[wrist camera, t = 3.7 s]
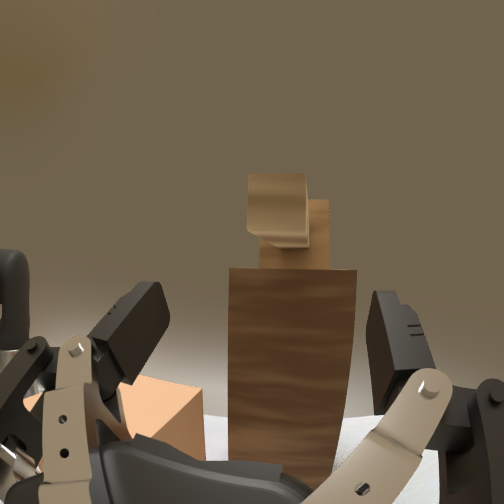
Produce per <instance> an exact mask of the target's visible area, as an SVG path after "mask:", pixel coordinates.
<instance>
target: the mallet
mask: <svg viewBox="0 0 504 504" xmlns="http://www.w3.org/2000/svg"><path fill="white" fill-rule="evenodd" d="M247 230H248V231H249V232H251V233H253V234H255V235H256V236H258V237H260V245H259V248H260V249H259V268H267V269H317V270H329V200H308V198H307V187H306V176H305V173H279V174H251V175H249V178H248V214H247Z"/></svg>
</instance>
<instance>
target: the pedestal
mask: <svg viewBox="0 0 504 504" xmlns="http://www.w3.org/2000/svg"><path fill="white" fill-rule="evenodd" d="M118 388H119V389H120V392H121V398H122V404H123V409H124V414H125V419H126V424H127V428H128V431H129V433H130V435H131V437H132V439H133V438H134V436H135V434H136V433H138V434H141V435H144V436H147V437H150V438H153V439H156V440H159V441H162V442H165V443H168V444H169V445H171V446H173V447H175V448H176V449H178V450H180V451H182V452H184V453H185V454H187V455H189V456H191V457H193V458H195V459H197V460H200V461H206V453H205V438H204V419H203V396H202V388H197V387H192V386H186V385H181V384H177V383H172V382H167V381H163V380H158V379H154V378H150V377H146V376H142V375H138V377H137V378H136V380H135V382H134V383H133V385H132V386H131V385H128V384H125V383H122V382H120V384H119V386H118ZM42 393H43V392H41V393H39V394H36V395H33V396H31V397H28V398H25V399H23V403H24V406H25V408H26V409H27V410H28V411H29V412H30V411H31V409H32V408H33V406H34V405H35V403H36V402H37V400H38V399H39V397H40V396H41V394H42ZM38 466H39V468H40V470H41V472H44V470H43V456H42V458H41V460H40V462H39V464H38Z"/></svg>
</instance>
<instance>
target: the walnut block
mask: <svg viewBox="0 0 504 504" xmlns="http://www.w3.org/2000/svg"><path fill="white" fill-rule="evenodd" d="M356 282H357V270H341V269H340V270H339V269H338V270H335V269H329V270H317V269H267V268H229V307H228V312H229V313H228V461H232V460H245V461H252V462H260V463H268V464H278V465H282V473H285V474H288V475H291V476H293V477H295V478H298V479H300V480H302V481H303V482H305V483H307V484H308V485H310V486H311V487H312V488H314V489H315V490H316V489H317V488H318V487H319V486H320V485H321V484H322V483H323V482H324V481H325V480H327V479H328V478H329V477H330V476H331V472H332V468H333V463H334V459H335V455H336V450H337V445H338V441H339V436H340V430H341V425H342V420H343V414H344V408H345V402H346V395H347V387H348V380H349V373H350V363H351V354H352V346H353V334H354V321H355V304H356Z"/></svg>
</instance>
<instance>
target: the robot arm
mask: <svg viewBox="0 0 504 504" xmlns="http://www.w3.org/2000/svg"><path fill="white" fill-rule="evenodd" d="M29 283H30V279H29V266H28V262H27V259H26V257H25V255H24V254H23V253H22V252H21V251H19V250H10V249H0V304H2V318H1V319H0V499H1V500H2V501H3V502H4V504H392V503H393V501H394V500H395V499H396V498H397V496H398V495H399V494H400V492H401V491H402V489H403V488H404V487H405V485H406V484H407V482H408V481H409V480H410V478H411V477H412V475H413V474H414V472H415V471H416V469H417V467H418V466H419V464H420V462H421V460H422V456H421V455H422V453H423V451H424V449H429V450H436V451H438V458H439V483H440V499H439V504H504V382H502V381H500V380H498V379H487V380H485V381H483V382H482V383H481V384H480V385H479V387H478V388H477V389H469V388H462V387H457V386H453V385H452V383H451V382H450V380H449V378H448V377H447V376H446V375H445V374H444V373H442V372H441V371H439V370H436V367H435V364H434V361H433V358H432V355H431V352H430V349H429V346H428V343H427V340H426V338H425V336H424V332H423V329H422V327H421V324H420V321H419V319H418V316H417V314H416V313H415V312H414V311H413V309H412V308H411V307H410V306H409V305H400V303H399V300H398V297H397V295H396V292H395V291H374V292H373V295H372V300H371V306H370V311H369V316H368V321H367V326H366V344H367V350H368V358H369V366H370V374H371V384H372V394H373V404H374V415H384V417H383V418H382V419H381V421H380V422H379V423H378V425H377V426H376V427H375V428H374V429H372V430H371V431H370V432H369V433H368V434H367V436H366V437H365V438H364V439H363V440H362V442H361V443H360V444H359V445H358V446H357V447H356V449H355V450H354V451H353V452H352V453H351V454H350V455H349V456H348V458H347V459H346V460H345V461H344V462H343V463H342V464H341V465H340V466H339V467H338V468H337V469H336V470H335V471H334V472H333V473H332V475H331V476H330V477H329V478H328V479H327V480H325V481H324V482H323V483H322V484H321V485H320V486H319V487H318V488H317V489H316V490H315V489H314V488H312V487H311V486H310V485H308V484H307V483H305V482H303V481H302V480H300V479H298V478H295V477H293V476H291V475H288V474H285V473H282V465H278V464H268V463H260V462H252V461H245V460H232V461H200V460H197V459H195V458H193V457H191V456H189V455H187V454H185V453H184V452H182V451H180V450H178V449H176V448H175V447H173V446H171V445H169V444H168V443H165V442H162V441H159V440H156V439H153V438H150V437H147V436H144V435H141V434H138V433H136V434H135V436H134V438H133V439H132V437H131V435H130V433H129V431H128V428H127V424H126V419H125V414H124V409H123V404H122V398H121V392H120V389H119V388H118V386H119V384H120V382H122V383H125V384H128V385H131V386H132V385H133V383H134V382H135V380H136V378H137V377H138V375H139V373H140V372H141V370H142V368H143V367H144V365H145V363H146V362H147V360H148V358H149V356H150V355H151V353H152V352H153V350H154V349H155V347H156V345H157V344H158V342H159V341H160V339H161V337H162V336H163V334H164V333H165V331H166V329H167V328H168V326H169V322H170V313H169V309H168V306H167V303H166V299H165V296H164V293H163V290H162V286H161V284H160V283H159V282H154V281H140V282H139V283H138V284H137V285H136V286H135V287H134V288H133V289H132V291H131V292H129V293H127V294H126V295H124V296H123V297H121V298H120V299H119V300H118V301H117V302H116V303H115V304H114V305H113V308H111V309H110V310H109V311H108V313H107V314H106V315H105V316H104V317H103V318H102V319H101V320H100V321H99V323H98V324H97V325H96V326H95V327H94V328H93V330H92V331H91V332H90V333H89V334H88V335H87V337H86V336H76V337H72V338H70V339H69V340H67V341H66V342H65V343H64V344H63V345H62V346H61V347H50V346H49V344H48V343H47V341H46V339H45V338H44V337H41V336H38V337H34V338H31V339H29V327H30V316H29ZM36 379H37V380H38V381H39V382H40V384H41V385H42V386H43V387H44V389H45V390H44V391H43V393H42V394H41V396H40V397H39V399H38V400H37V402H36V403H35V405H34V406H33V408H32V409H31V411H30V412H29V411H28V410H27V409H26V408H25V406H24V403H23V399H25V398H28V397H31V396H33V395H36V394H39V392H38V387H37V383H36ZM42 456H43V470H44V472H42V473H40V472H39V471H37V470H36V468H37V466H38V464H39V462H40V460H41V458H42Z"/></svg>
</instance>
